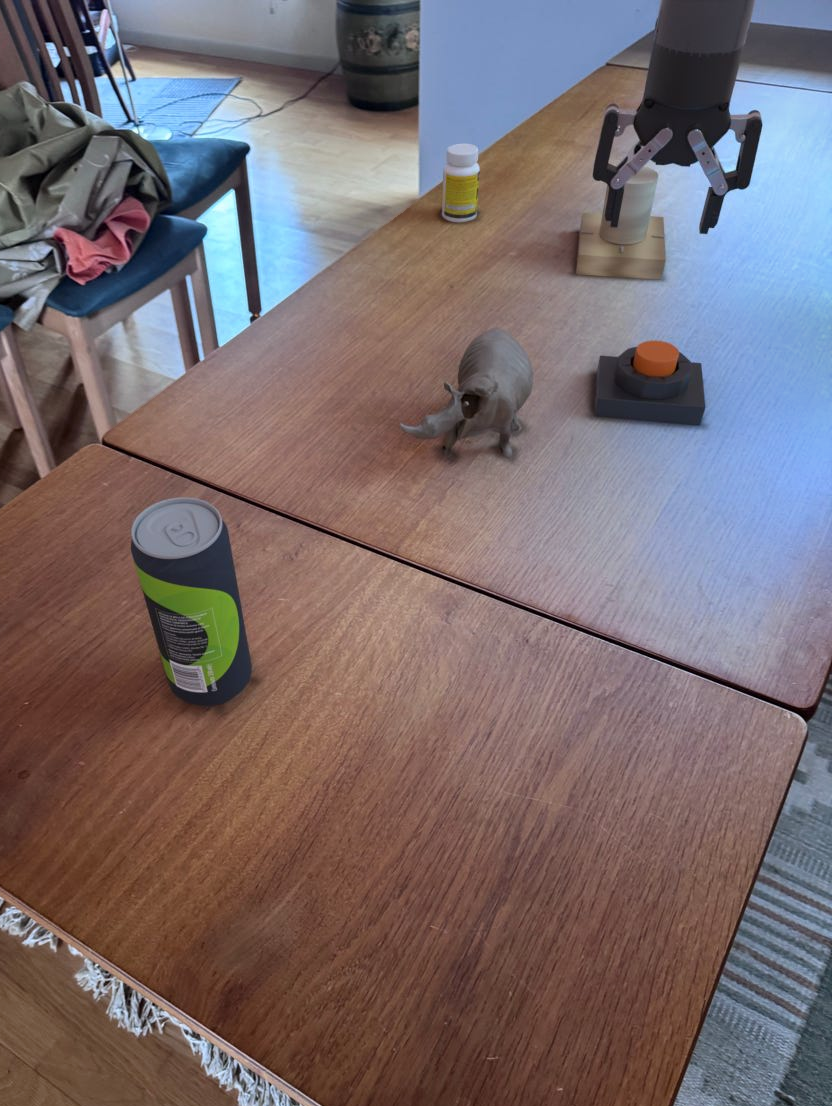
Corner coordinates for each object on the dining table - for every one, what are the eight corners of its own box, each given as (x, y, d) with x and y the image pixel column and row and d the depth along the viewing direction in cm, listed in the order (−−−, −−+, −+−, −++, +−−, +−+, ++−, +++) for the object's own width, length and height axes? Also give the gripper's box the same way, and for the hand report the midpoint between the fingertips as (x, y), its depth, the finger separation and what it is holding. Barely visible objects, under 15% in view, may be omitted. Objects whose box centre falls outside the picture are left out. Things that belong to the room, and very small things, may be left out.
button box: (696, 382, 93) (706, 346, 90) (699, 426, 87) (710, 390, 85) (596, 374, 94) (602, 338, 91) (594, 417, 89) (601, 381, 86)
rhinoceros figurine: (568, 376, 89) (534, 294, 76) (519, 504, 89) (476, 444, 75) (496, 362, 93) (452, 282, 80) (448, 486, 92) (395, 425, 79)
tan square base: (659, 236, 116) (663, 215, 114) (661, 280, 108) (666, 258, 106) (579, 232, 117) (582, 211, 115) (575, 275, 109) (579, 253, 107)
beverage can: (268, 685, 67) (244, 531, 56) (195, 726, 65) (154, 573, 54) (226, 636, 71) (196, 482, 60) (155, 673, 68) (109, 519, 57)
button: (674, 358, 89) (678, 341, 88) (675, 379, 87) (680, 363, 85) (632, 354, 90) (636, 338, 89) (632, 376, 87) (636, 360, 86)
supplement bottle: (482, 220, 121) (487, 152, 114) (448, 225, 120) (451, 158, 114) (468, 206, 124) (472, 139, 118) (436, 211, 123) (438, 145, 117)
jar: (646, 246, 108) (659, 181, 103) (598, 243, 109) (609, 179, 104) (645, 226, 112) (658, 163, 107) (599, 223, 113) (609, 161, 107)
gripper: (613, 46, 76) (582, 239, 88) (792, 51, 74) (735, 249, 86) (616, 21, 81) (586, 207, 93) (784, 26, 79) (731, 216, 91)
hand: (658, 227), depth 89 cm, fingers open, 8 cm apart
